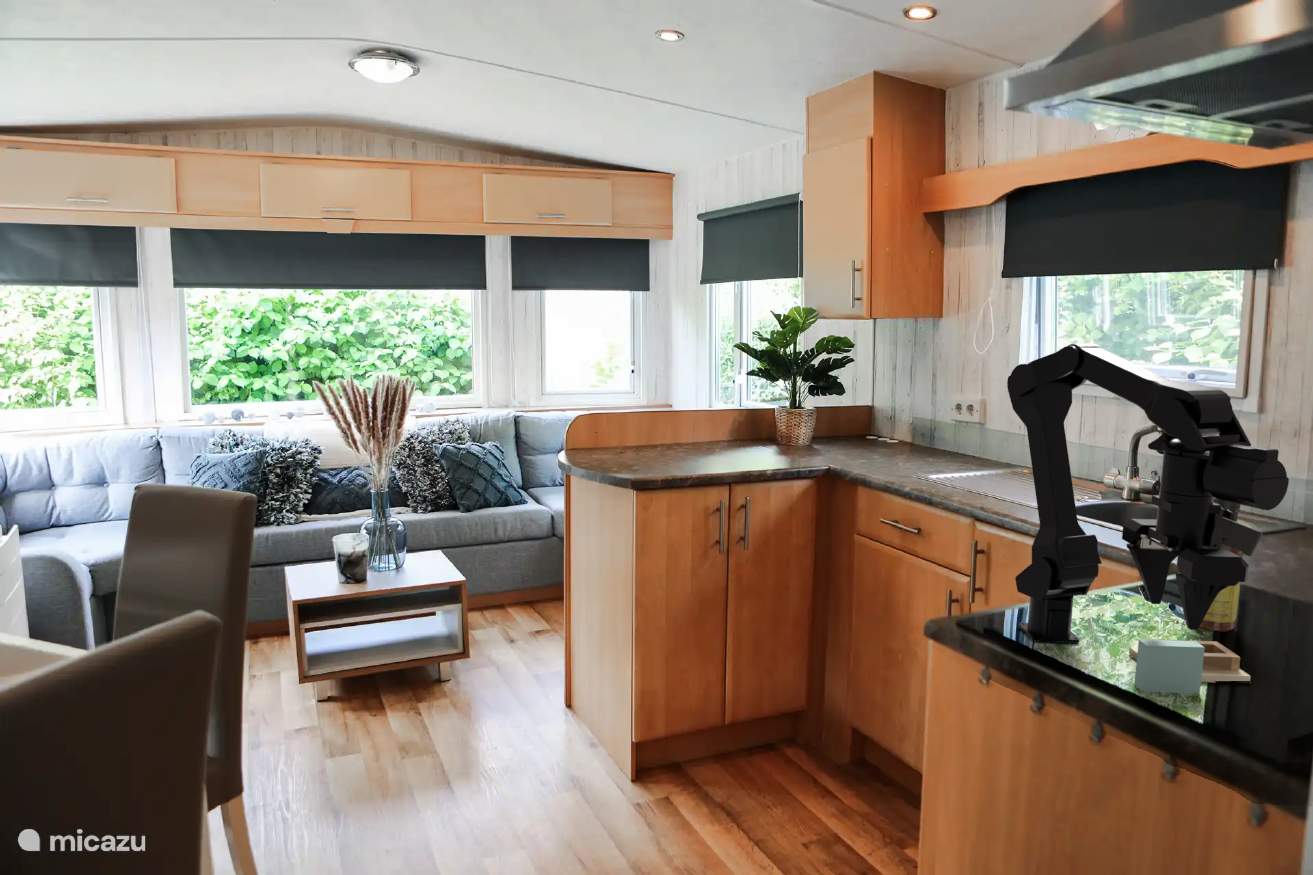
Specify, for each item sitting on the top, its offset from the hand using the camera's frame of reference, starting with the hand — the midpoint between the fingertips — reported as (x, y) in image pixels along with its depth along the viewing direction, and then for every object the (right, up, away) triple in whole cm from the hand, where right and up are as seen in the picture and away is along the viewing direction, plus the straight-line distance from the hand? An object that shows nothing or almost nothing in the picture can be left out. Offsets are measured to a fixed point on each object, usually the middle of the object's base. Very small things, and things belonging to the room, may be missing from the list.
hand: (1173, 615), depth 115 cm
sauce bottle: (+19, -6, +24) cm, 31 cm away
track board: (+6, -8, +8) cm, 13 cm away
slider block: (0, -9, +1) cm, 10 cm away
